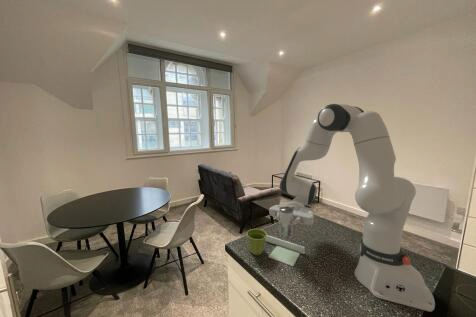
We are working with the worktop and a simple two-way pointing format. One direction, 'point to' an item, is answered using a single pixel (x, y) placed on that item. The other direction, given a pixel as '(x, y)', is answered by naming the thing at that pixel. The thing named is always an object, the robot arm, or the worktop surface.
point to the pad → (284, 255)
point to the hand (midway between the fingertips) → (285, 220)
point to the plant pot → (256, 240)
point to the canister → (285, 221)
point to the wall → (285, 244)
